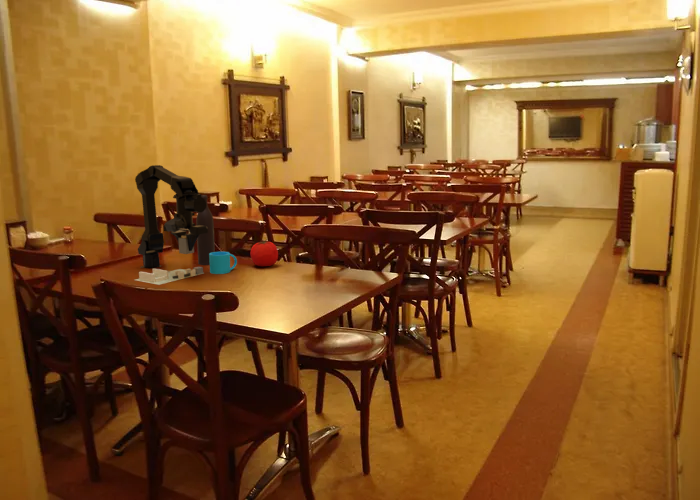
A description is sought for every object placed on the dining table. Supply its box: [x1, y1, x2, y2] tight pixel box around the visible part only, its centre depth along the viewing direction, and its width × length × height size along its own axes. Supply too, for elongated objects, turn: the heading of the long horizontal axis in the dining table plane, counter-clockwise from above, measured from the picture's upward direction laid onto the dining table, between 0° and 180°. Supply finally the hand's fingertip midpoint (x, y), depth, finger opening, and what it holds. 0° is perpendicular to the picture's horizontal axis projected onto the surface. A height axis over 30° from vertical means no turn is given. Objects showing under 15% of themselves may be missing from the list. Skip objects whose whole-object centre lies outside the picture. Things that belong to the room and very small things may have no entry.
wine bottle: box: [195, 194, 216, 266], centre depth 254 cm, size 7×7×30 cm
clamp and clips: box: [175, 266, 204, 280], centre depth 233 cm, size 4×12×2 cm, turn 148°
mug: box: [209, 251, 238, 275], centre depth 241 cm, size 12×8×8 cm
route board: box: [134, 268, 204, 286], centre depth 232 cm, size 14×23×1 cm, turn 148°
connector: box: [178, 235, 195, 255], centre depth 232 cm, size 4×4×7 cm
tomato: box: [249, 240, 279, 267], centre depth 253 cm, size 12×12×11 cm
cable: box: [173, 273, 190, 279], centre depth 232 cm, size 2×10×1 cm, turn 148°
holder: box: [138, 268, 169, 282], centre depth 227 cm, size 9×7×3 cm
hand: (186, 250), depth 232 cm, fingers closed on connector, 4 cm apart
